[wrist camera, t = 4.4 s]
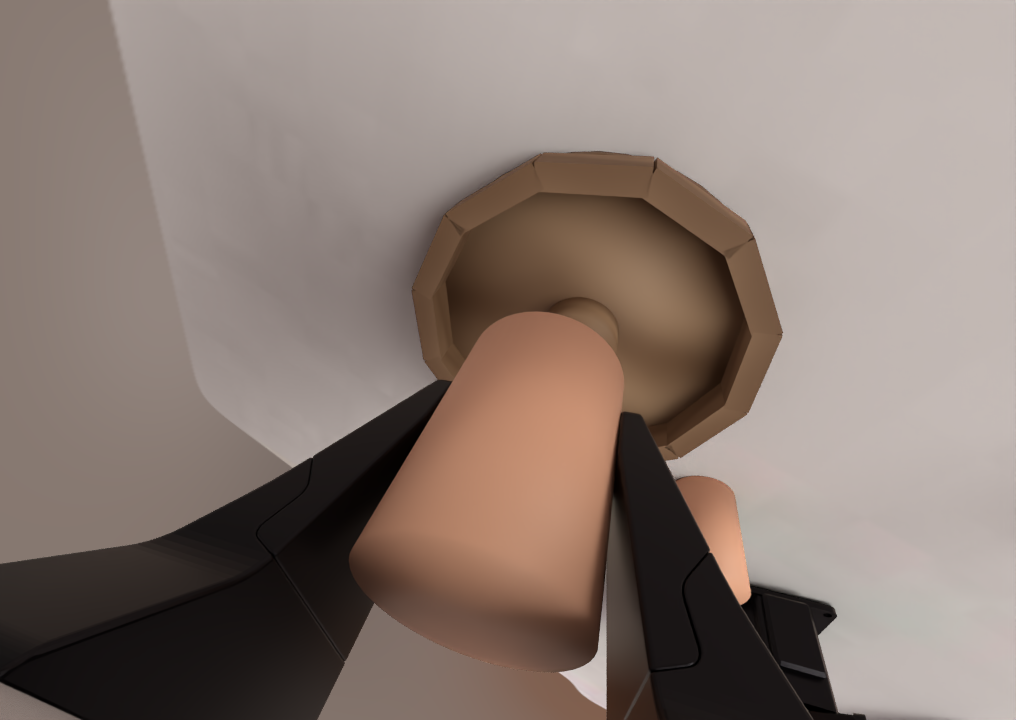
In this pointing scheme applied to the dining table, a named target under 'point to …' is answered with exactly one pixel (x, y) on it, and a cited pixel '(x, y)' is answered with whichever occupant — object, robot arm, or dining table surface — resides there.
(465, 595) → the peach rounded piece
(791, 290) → the dining table surface
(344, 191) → the dining table surface
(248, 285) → the dining table surface
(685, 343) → the round tray
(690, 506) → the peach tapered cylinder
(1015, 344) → the dining table surface
